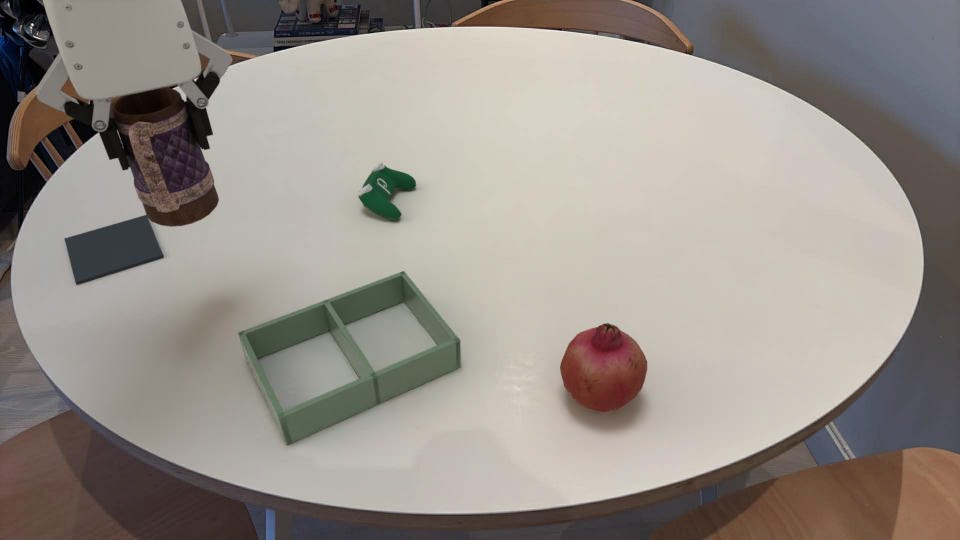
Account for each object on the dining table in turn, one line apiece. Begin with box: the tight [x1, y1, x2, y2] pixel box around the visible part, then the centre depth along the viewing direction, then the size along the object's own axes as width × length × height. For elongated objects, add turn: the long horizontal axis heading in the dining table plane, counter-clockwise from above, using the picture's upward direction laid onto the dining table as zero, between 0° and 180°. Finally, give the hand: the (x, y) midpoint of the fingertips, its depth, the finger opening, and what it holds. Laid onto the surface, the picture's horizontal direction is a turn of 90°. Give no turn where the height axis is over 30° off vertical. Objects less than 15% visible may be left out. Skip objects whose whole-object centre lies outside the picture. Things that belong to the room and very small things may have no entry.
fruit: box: [559, 322, 648, 414], centre depth 66 cm, size 8×8×10 cm
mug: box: [110, 87, 220, 228], centre depth 65 cm, size 10×7×12 cm
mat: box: [64, 214, 165, 285], centre depth 88 cm, size 10×10×1 cm
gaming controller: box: [358, 161, 417, 221], centre depth 95 cm, size 9×4×6 cm
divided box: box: [237, 270, 462, 446], centre depth 72 cm, size 19×13×4 cm
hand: (163, 151), depth 64 cm, fingers closed on mug, 6 cm apart
